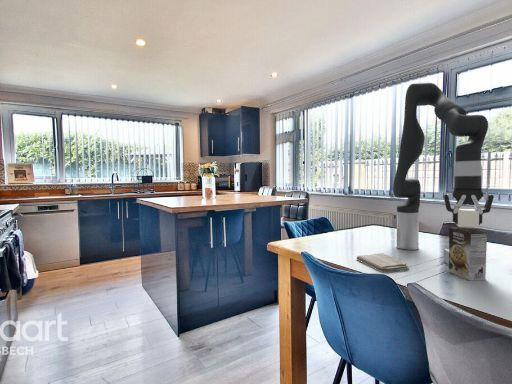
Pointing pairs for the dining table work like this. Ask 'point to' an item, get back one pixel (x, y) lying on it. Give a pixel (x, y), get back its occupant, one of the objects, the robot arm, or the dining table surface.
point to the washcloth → (383, 262)
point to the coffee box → (467, 253)
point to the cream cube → (468, 218)
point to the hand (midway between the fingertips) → (467, 224)
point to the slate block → (446, 256)
